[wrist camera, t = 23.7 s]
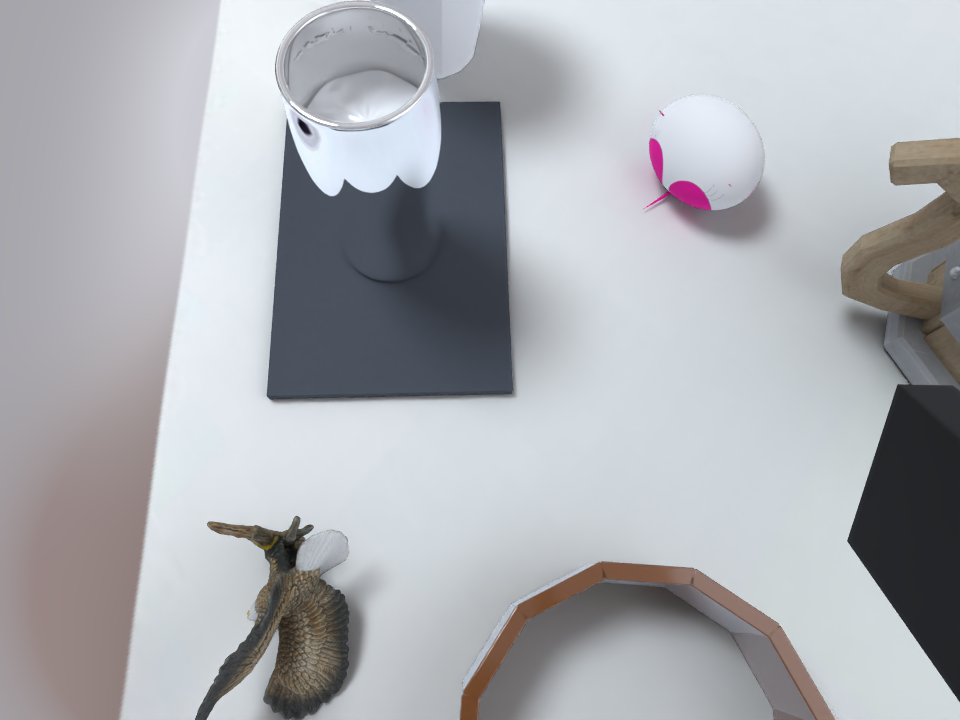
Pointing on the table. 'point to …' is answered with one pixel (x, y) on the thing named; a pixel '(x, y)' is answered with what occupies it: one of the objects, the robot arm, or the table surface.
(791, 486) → the table surface
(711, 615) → the brown ring
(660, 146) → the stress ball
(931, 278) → the tankard
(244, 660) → the eagle figurine
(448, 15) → the foam cup
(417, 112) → the beer glass
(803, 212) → the table surface
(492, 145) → the mat
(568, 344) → the table surface
